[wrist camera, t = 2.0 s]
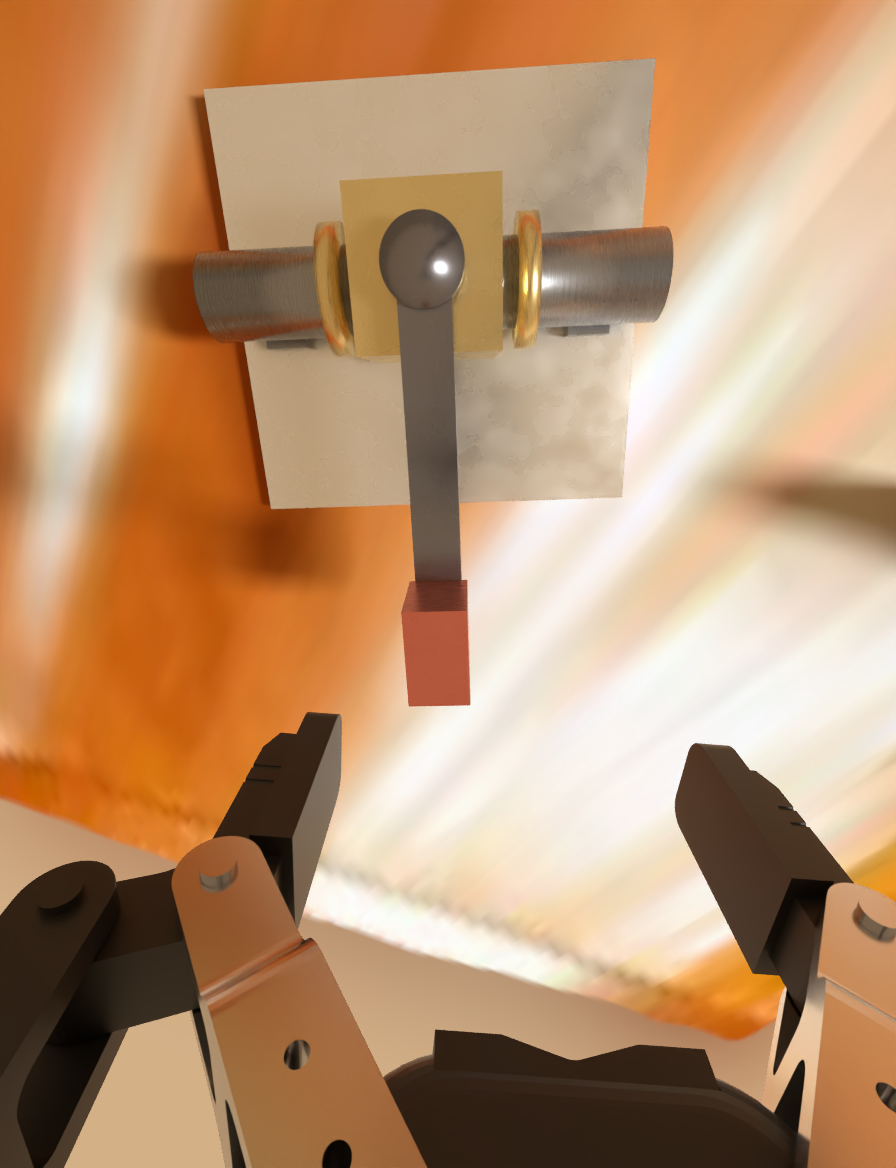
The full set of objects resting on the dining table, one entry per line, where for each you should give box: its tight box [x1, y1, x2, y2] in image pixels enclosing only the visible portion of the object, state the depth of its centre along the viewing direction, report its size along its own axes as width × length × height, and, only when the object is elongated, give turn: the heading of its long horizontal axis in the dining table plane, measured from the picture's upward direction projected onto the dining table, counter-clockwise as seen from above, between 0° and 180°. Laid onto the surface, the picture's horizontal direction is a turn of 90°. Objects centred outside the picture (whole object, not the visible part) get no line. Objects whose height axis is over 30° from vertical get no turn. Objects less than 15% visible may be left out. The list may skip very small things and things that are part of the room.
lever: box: [379, 209, 470, 706], centre depth 24 cm, size 21×4×5 cm, turn 2°
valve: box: [193, 58, 673, 509], centre depth 29 cm, size 24×23×10 cm
